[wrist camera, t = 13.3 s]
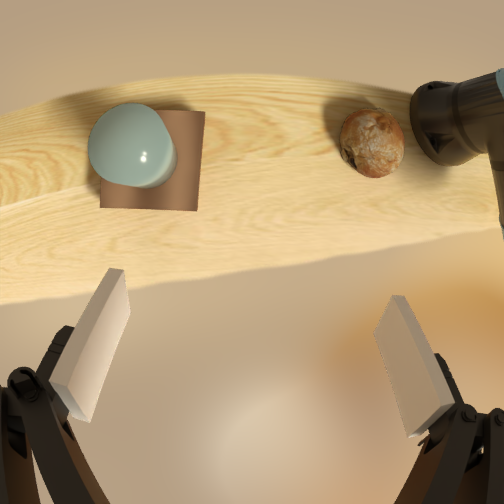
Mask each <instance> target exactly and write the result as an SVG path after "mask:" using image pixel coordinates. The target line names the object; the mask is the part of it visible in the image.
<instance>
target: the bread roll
mask: <svg viewBox="0 0 504 504" xmlns="http://www.w3.org/2000/svg"><path fill="white" fill-rule="evenodd" d="M340 144H341V147H342V151H341V155H342V157H343V159H344V160H345V161H346V162H347V161H348V162H349V163H350V164H351V165H352V166H353V167H354V168H355V169H356V170H357V171H358V172H359V173H361V174H362V175H364V176H366V177H370V178H380V177H383V176H386V175H388V174H390V173H392V172H393V171H394V170H395V169H396V168H397V167H398V165H399V164H400V162H401V160H402V158H403V156H404V144H405V141H404V135H403V132H402V130H401V128H400V126H399V123H398V122H397V121H396V120H395V118H394V117H393V116H392V115H391V113H389V112H388V113H387V112H386V111H385V110H384V109H381V108H376V110H374V109H369V108H367V109H361V110H359V111H358V112H354V113H352V114H351V115H350V116H348V117H347V118H346V119H345V122H344V124H343V126H342V131H341V135H340Z"/></svg>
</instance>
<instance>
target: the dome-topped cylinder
mask: <svg viewBox="0 0 504 504" xmlns="http://www.w3.org/2000/svg"><path fill="white" fill-rule="evenodd" d="M88 155H89V159H90V162H91V165H92V167H93V168H94V170H95V171H96V172H97V173H98V174H99V175H100V176H101V177H102V178H104V179H105V180H107V181H110V182H113V183H117V184H122V185H127V186H132V187H137V188H143V189H151V188H155V187H158V186H160V185H162V184H164V183H165V182H166V181H168V180H169V179H170V177H171V176H172V175H173V173H174V171H175V169H176V166H177V161H178V154H177V149H176V146H175V144H174V142H173V140H172V138H171V137H170V135H169V133H168V131H167V129H166V127H165V125H164V123H163V121H162V119H161V118H160V116H159V115H158V114H157V113H156V112H155V111H154V110H153V109H151V108H150V107H148V106H145V105H143V104H138V103H126V104H121V105H118V106H116V107H114V108H112V109H110V110H108V111H107V112H106V113H104V114H103V115H102V116H101V117H100V118H99V119H98V121H97V122H96V124H95V125H94V127H93V129H92V131H91V133H90V136H89V141H88Z"/></svg>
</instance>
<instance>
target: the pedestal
mask: <svg viewBox="0 0 504 504" xmlns="http://www.w3.org/2000/svg"><path fill="white" fill-rule="evenodd" d="M154 111H155V112H156V113H157V114H158V115H159V116H160V118H161V119H162V121H163V123H164V125H165V127H166V129H167V131H168V133H169V135H170V137H171V138H172V140H173V142H174V144H175V146H176V149H177V154H178V161H177V166H176V169H175V171H174V173H173V175H172V176H171V177H170V179H169V180H168V181H166V182H165V183H164V184H162V185H160V186H158V187H155V188H151V189H143V188H137V187H132V186H127V185H122V184H117V183H113V182H110V181H107V180H105V179H104V178H102V177H101V192H100V208H128V209H156V210H180V211H197V210H198V196H199V182H200V169H201V157H202V146H203V136H204V126H205V112H202V111H180V110H154Z"/></svg>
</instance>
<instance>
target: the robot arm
mask: <svg viewBox="0 0 504 504" xmlns="http://www.w3.org/2000/svg"><path fill="white" fill-rule="evenodd" d="M410 118H411V124H412V128H413V131H414V134H415V136H416V139H417V141H418V143H419V145H420V146H421V148H422V149H423V151H424V152H425V153H426V154H427V155H428V156H429V157H430V158H431V159H432V160H433V161H434V162H436V163H438V164H440V165H443V166H458V165H461V164H464V163H465V162H467V161H469V160H471V159H472V158H474V157H476V156H478V155H479V154H483V153H488V155H489V159H490V164H491V168H492V173H493V178H494V183H495V188H496V194H497V200H498V206H499V213H500V214H499V222H500V226H501V228H502V234H503V240H504V68H501V69H498V71H496V72H493V73H490V74H487V75H483V76H480V77H477V78H473V79H470V80H467V81H464V82H461V83H454V82H443V81H433V82H429V83H427V84H424V85H422V86H420V87H419V88H418V89H417V90H416V91H415V92H414V94H413V96H412V99H411V104H410ZM130 313H131V311H130V306H129V300H128V294H127V288H126V281H125V275H124V270H121V269H113V268H109V270H108V271H107V273H106V274H105V276H104V278H103V279H102V281H101V283H100V284H99V286H98V288H97V289H96V291H95V293H94V295H93V296H92V298H91V300H90V301H89V303H88V305H87V307H86V309H85V310H84V312H83V314H82V316H81V318H80V319H79V321H78V323H77V325H76V327H70V326H64V327H63V328H62V329H61V330H59V331H58V332H57V333H56V335H55V337H54V339H53V340H52V344H51V345H50V346H49V348H48V351H47V352H46V354H45V356H44V357H43V359H42V361H41V363H40V365H39V367H38V369H37V371H36V373H35V372H34V371H33V370H32V369H31V368H28V367H19V368H17V369H15V370H14V371H13V372H12V373H11V374H10V375H9V378H8V380H7V386H8V387H6V388H5V387H1V385H0V504H41V503H40V499H39V494H38V489H37V484H36V478H35V473H34V465H33V458H32V451H33V454H34V457H35V460H36V462H37V465H38V467H39V470H40V473H41V475H42V478H43V480H44V482H45V485H46V487H47V489H48V491H49V494H50V496H51V498H52V500H53V502H54V504H110V503H109V501H108V499H107V498H106V496H105V495H104V493H103V491H102V489H101V487H100V486H99V484H98V482H97V480H96V478H95V476H94V475H93V473H92V471H91V469H90V467H89V465H88V463H87V462H86V459H85V457H84V455H83V453H82V451H81V449H80V447H79V445H78V442H77V440H76V438H75V436H74V433H73V431H72V429H71V426H70V424H69V422H68V420H67V416H68V413H69V412H70V413H71V415H72V416H73V418H76V419H79V420H82V421H86V422H89V423H90V422H91V418H92V415H93V412H94V409H95V406H96V403H97V400H98V397H99V394H100V392H101V389H102V386H103V383H104V380H105V377H106V374H107V372H108V369H109V366H110V364H111V361H112V358H113V356H114V353H115V351H116V348H117V345H118V343H119V340H120V338H121V335H122V333H123V330H124V328H125V325H126V323H127V321H128V318H129V316H130ZM374 336H375V339H376V342H377V344H378V347H379V350H380V353H381V356H382V358H383V361H384V364H385V367H386V370H387V373H388V376H389V379H390V382H391V385H392V388H393V391H394V394H395V398H396V401H397V404H398V407H399V411H400V414H401V417H402V420H403V424H404V427H405V431H406V435H407V437H413V436H418V435H421V434H422V433H424V432H425V431H426V430H427V429H428V430H429V433H430V434H429V435H428V436H426V437H425V438H424V439H423V440H422V441H420V442H419V444H418V446H420V445H421V444H423V443H424V444H423V446H422V449H421V451H420V454H419V455H418V458H417V460H416V462H415V464H414V466H413V468H412V470H411V472H410V475H409V477H408V479H407V480H406V483H405V484H404V487H403V488H402V490H401V492H400V494H399V496H398V497H397V499H396V501H395V503H394V504H504V411H503V410H502V409H500V408H495V409H493V410H492V411H491V412H490V413H489V414H483V413H477V411H476V410H475V408H474V407H472V406H471V405H468V404H465V403H464V402H463V399H462V397H461V395H460V392H459V390H458V388H457V385H456V383H455V381H454V379H453V378H452V374H451V372H450V371H449V368H448V366H447V364H446V362H445V360H444V359H443V358H442V357H441V356H440V354H439V353H436V354H434V353H433V351H432V349H431V347H430V345H429V343H428V341H427V339H426V337H425V335H424V333H423V331H422V329H421V327H420V325H419V323H418V321H417V319H416V317H415V315H414V313H413V311H412V309H411V308H410V306H409V304H408V302H407V300H406V298H405V297H404V296H397V295H396V296H395V295H392V297H391V299H390V301H389V303H388V305H387V307H386V309H385V311H384V313H383V315H382V317H381V319H380V321H379V323H378V325H377V327H376V329H375V331H374ZM483 447H484V451H483V453H482V452H481V450H482V448H483ZM31 449H32V450H31Z"/></svg>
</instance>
